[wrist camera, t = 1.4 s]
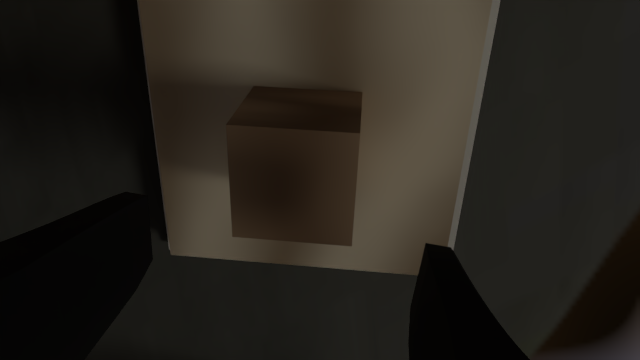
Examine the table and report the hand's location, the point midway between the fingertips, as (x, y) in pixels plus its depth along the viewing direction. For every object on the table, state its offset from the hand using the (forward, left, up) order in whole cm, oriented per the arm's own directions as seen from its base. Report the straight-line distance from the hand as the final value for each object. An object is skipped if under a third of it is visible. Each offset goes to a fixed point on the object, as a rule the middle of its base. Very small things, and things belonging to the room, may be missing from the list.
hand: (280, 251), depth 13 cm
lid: (0, 0, -8) cm, 8 cm away
